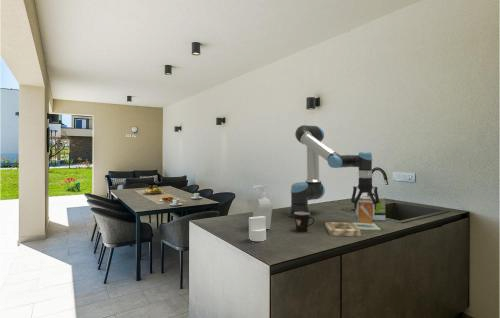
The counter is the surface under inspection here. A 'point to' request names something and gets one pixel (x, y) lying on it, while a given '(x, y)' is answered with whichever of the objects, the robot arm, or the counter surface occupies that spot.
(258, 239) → the base with upright slab
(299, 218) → the coffee mug
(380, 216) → the tea box
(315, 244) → the counter surface
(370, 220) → the small box
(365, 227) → the sage pad
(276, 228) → the counter surface
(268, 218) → the soap bottle
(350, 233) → the pocket block
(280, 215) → the counter surface
